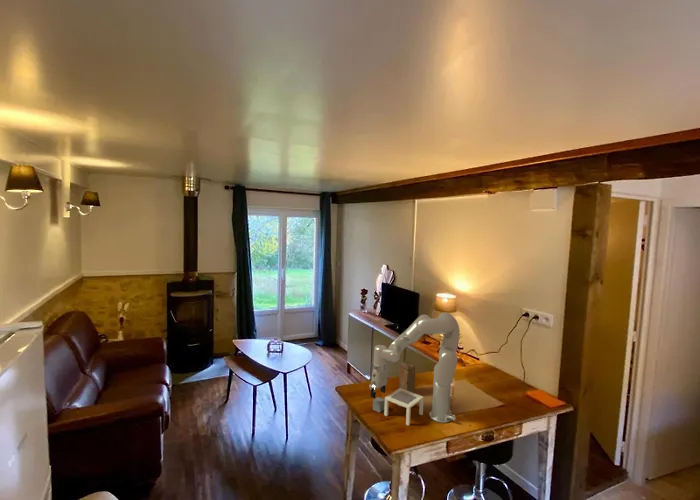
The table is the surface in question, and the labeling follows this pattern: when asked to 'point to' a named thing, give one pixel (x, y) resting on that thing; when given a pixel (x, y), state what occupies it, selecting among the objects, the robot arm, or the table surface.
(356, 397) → the table surface
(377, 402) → the stone
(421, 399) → the frame
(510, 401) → the table surface
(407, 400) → the trapdoor
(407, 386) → the block
